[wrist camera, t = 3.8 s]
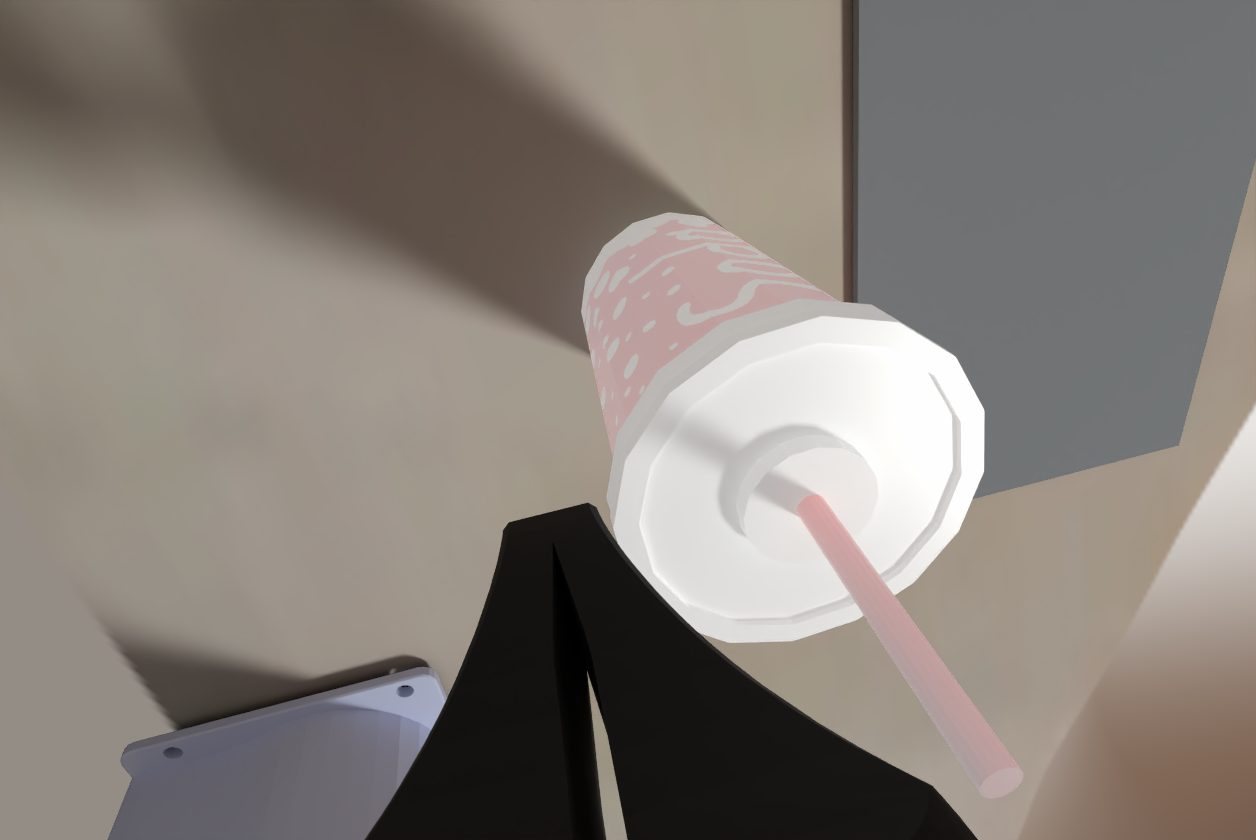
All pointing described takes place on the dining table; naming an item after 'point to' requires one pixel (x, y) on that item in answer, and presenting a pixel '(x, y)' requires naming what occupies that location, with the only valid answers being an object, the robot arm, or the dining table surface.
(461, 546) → the dining table surface
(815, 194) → the dining table surface
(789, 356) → the beverage cup
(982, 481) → the rubber mat
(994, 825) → the dining table surface
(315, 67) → the dining table surface
